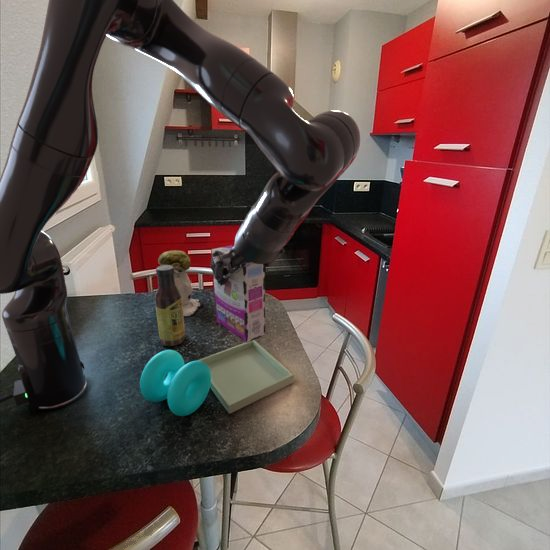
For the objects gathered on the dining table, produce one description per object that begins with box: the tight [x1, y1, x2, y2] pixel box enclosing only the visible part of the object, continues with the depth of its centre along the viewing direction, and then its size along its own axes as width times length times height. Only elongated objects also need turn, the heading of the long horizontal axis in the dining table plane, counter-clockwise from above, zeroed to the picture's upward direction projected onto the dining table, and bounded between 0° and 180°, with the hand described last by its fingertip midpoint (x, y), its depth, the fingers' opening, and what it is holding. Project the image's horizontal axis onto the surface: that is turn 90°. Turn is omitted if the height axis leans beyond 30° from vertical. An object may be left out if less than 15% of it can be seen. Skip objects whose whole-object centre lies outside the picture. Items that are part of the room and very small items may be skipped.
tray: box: [196, 339, 295, 415], centre depth 70 cm, size 15×16×2 cm
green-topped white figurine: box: [157, 249, 201, 317], centre depth 95 cm, size 12×13×18 cm
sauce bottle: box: [154, 265, 186, 347], centre depth 79 cm, size 7×6×20 cm
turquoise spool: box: [139, 349, 211, 417], centre depth 61 cm, size 10×10×10 cm
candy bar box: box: [211, 244, 266, 343], centre depth 63 cm, size 11×5×16 cm, turn 41°
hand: (233, 277), depth 64 cm, fingers closed on candy bar box, 5 cm apart
